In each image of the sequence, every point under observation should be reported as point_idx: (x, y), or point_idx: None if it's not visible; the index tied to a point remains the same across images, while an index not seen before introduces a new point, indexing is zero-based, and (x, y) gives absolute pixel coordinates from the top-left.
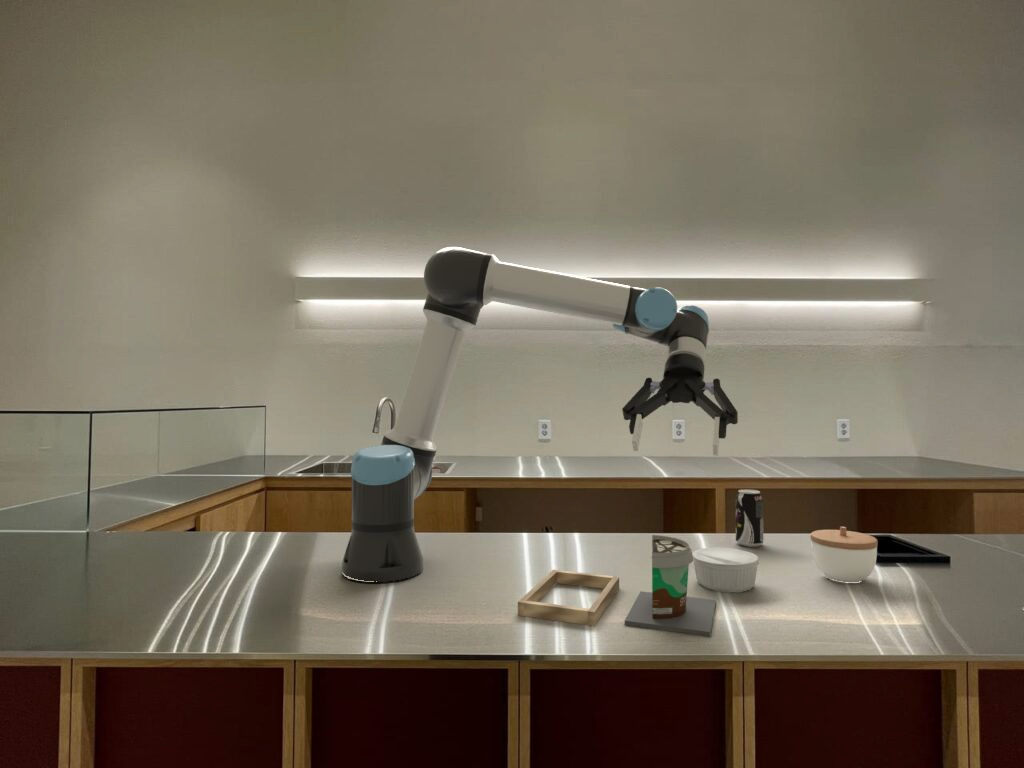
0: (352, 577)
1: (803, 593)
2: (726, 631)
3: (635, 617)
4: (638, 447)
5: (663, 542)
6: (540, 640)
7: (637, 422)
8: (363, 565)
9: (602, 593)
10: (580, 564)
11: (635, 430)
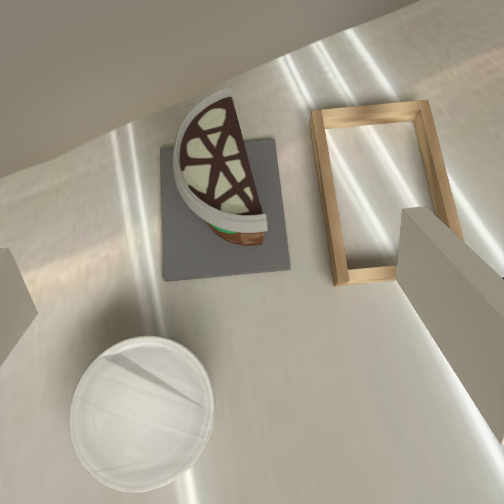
0: None
1: (16, 413)
2: (142, 178)
3: (263, 154)
4: (403, 290)
5: (238, 206)
6: (351, 59)
7: (491, 285)
8: None
9: (331, 184)
10: (471, 410)
11: (453, 243)
